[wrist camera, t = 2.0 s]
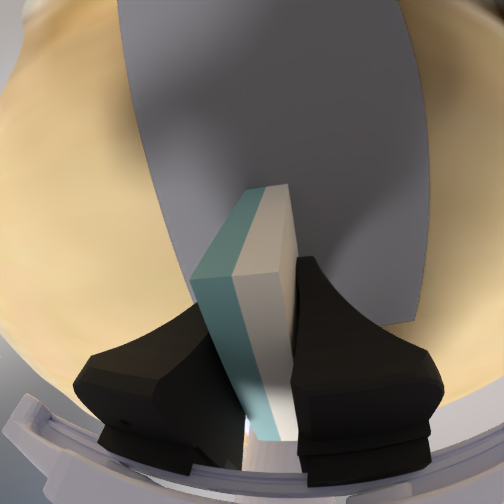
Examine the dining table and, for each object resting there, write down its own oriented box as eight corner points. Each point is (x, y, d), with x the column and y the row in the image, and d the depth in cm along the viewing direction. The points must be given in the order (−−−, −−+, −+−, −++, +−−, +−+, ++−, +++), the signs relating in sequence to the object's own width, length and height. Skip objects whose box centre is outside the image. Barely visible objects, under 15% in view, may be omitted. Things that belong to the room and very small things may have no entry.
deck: (306, 327, 13) (304, 440, 7) (274, 329, 13) (258, 440, 8) (287, 183, 10) (278, 271, 4) (245, 190, 10) (189, 279, 5)
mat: (412, 315, 12) (414, 320, 12) (209, 333, 14) (207, 338, 14) (369, -51, 4) (371, -55, 4) (121, -2, 7) (116, -4, 6)
